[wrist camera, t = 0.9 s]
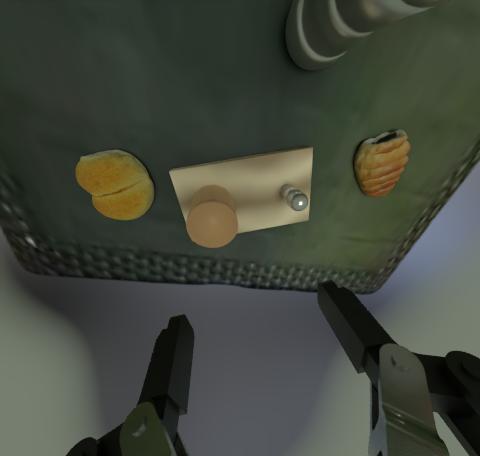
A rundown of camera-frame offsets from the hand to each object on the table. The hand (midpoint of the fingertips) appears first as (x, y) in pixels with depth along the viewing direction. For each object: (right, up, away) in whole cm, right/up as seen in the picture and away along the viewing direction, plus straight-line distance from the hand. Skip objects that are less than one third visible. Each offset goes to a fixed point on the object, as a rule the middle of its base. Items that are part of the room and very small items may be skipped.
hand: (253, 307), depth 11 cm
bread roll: (-17, +11, +14) cm, 25 cm away
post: (+6, +10, +16) cm, 20 cm away
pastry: (+20, +15, +17) cm, 30 cm away
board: (0, +10, +17) cm, 19 cm away
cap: (-5, +8, +15) cm, 18 cm away
